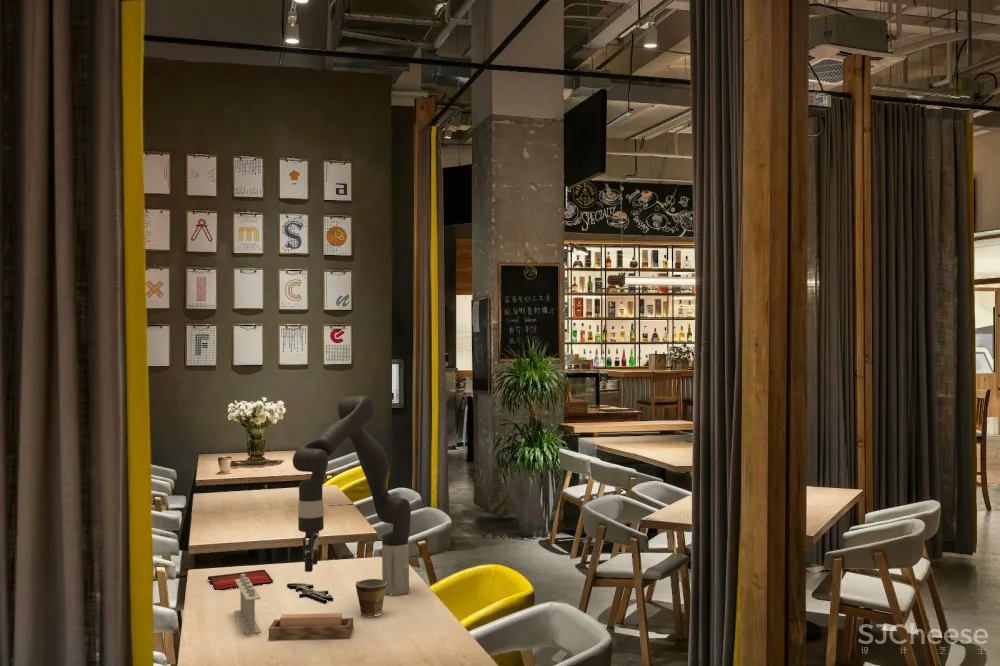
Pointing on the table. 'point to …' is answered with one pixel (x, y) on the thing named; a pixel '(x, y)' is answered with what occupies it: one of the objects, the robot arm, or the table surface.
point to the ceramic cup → (371, 596)
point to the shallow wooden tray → (311, 631)
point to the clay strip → (311, 620)
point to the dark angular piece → (310, 592)
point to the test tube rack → (247, 605)
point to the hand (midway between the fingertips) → (311, 567)
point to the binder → (229, 579)
